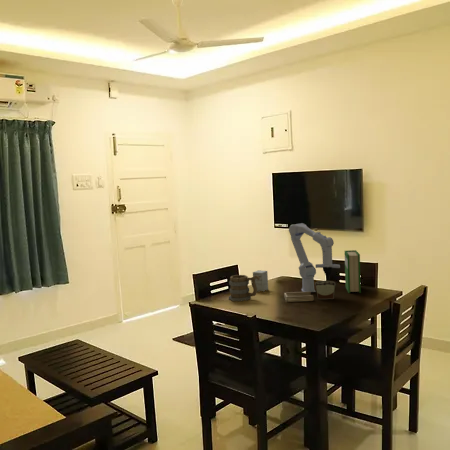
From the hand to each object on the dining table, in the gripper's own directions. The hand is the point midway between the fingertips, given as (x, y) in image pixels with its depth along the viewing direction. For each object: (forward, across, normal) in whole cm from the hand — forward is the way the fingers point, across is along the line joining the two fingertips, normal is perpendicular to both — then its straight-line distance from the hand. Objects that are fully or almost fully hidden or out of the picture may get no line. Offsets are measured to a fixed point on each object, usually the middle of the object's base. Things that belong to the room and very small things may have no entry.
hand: (328, 279), depth 295 cm
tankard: (+10, -48, -18) cm, 52 cm away
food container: (+10, -1, -7) cm, 12 cm away
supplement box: (+10, -46, +6) cm, 47 cm away
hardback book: (+10, +12, +17) cm, 23 cm away
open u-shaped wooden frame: (+10, -15, -13) cm, 22 cm away
